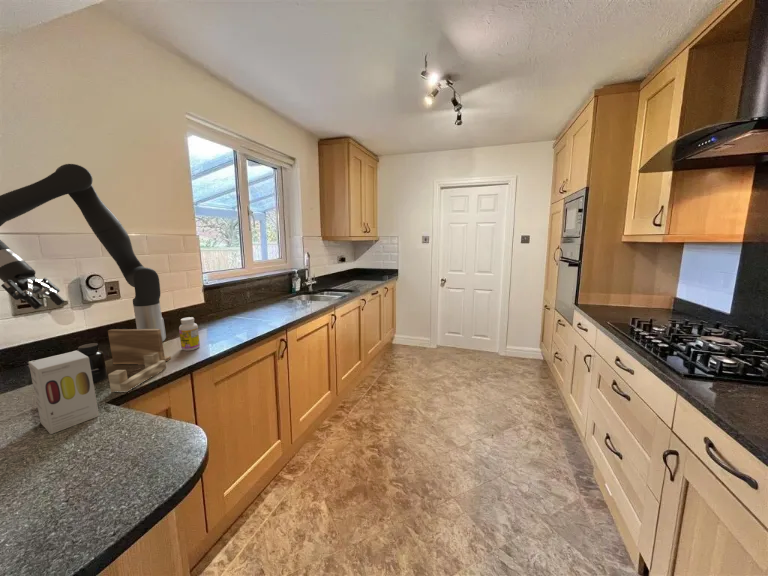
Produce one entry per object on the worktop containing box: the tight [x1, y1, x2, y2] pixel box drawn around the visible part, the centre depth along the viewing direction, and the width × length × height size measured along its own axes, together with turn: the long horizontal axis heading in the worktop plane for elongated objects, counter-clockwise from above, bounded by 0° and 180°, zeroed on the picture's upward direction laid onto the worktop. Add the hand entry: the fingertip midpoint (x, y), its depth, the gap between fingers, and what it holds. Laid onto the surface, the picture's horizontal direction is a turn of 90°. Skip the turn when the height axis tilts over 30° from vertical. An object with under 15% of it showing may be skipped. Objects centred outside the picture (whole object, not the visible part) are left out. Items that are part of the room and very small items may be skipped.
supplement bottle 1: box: [77, 342, 108, 384], centre depth 102 cm, size 7×7×12 cm
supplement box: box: [27, 349, 100, 435], centre depth 80 cm, size 10×9×17 cm
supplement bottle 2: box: [178, 316, 201, 352], centre depth 129 cm, size 7×7×13 cm
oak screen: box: [107, 328, 172, 365], centre depth 116 cm, size 5×18×13 cm, turn 90°
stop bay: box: [107, 353, 167, 392], centre depth 102 cm, size 17×5×6 cm, turn 0°
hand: (51, 305), depth 102 cm, fingers open, 8 cm apart
